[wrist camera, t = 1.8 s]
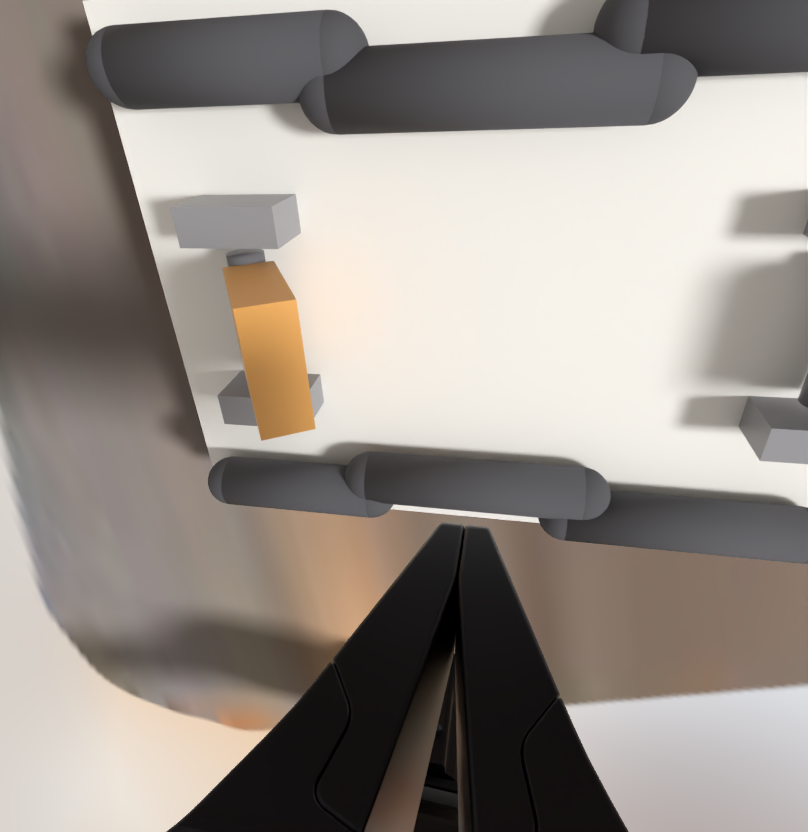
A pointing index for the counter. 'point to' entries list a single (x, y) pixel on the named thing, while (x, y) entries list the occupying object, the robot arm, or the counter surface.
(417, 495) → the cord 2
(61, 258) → the counter surface
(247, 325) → the orange brick
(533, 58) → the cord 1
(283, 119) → the white tray
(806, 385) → the paddle grey
